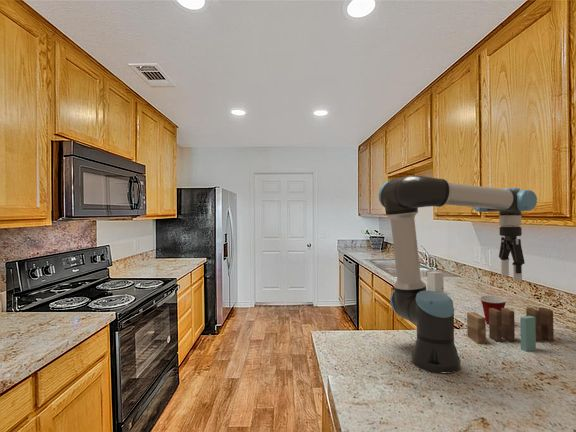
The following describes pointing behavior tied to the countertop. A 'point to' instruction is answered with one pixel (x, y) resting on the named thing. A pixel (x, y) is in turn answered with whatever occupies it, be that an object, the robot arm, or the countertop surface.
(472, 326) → the block
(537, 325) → the domino
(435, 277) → the skincare box
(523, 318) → the domino
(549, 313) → the domino
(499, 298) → the plastic cup
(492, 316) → the domino
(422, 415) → the countertop surface
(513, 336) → the domino
